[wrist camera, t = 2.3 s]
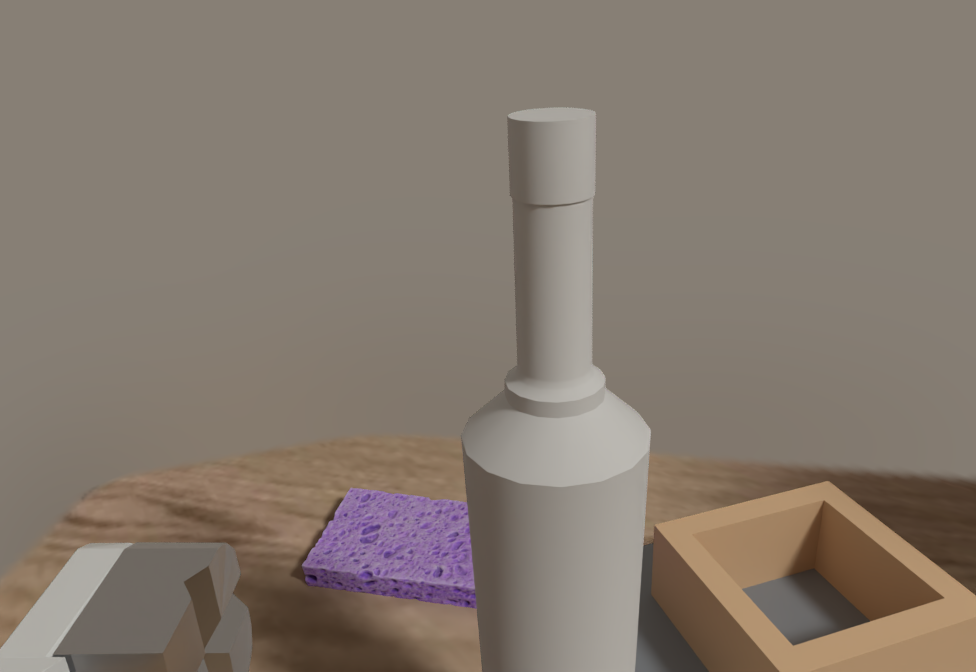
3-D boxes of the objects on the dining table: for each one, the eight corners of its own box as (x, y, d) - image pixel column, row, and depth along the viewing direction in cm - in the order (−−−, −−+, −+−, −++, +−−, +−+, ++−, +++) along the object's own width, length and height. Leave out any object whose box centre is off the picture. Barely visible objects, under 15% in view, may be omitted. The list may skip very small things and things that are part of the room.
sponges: (354, 512, 48) (350, 486, 47) (566, 535, 45) (565, 507, 44) (303, 594, 42) (298, 565, 41) (545, 626, 39) (544, 595, 38)
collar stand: (826, 512, 45) (838, 434, 43) (1109, 747, 31) (1147, 648, 29) (559, 583, 41) (558, 500, 39) (748, 894, 27) (762, 789, 25)
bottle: (554, 744, 32) (544, 93, 22) (664, 833, 29) (711, 107, 19) (458, 834, 29) (393, 120, 19) (567, 946, 25) (561, 144, 15)
